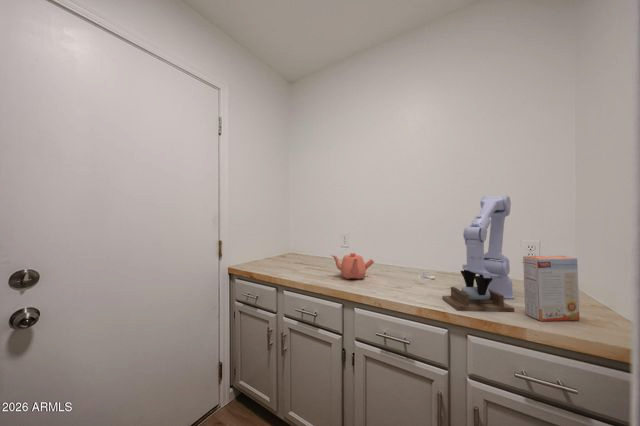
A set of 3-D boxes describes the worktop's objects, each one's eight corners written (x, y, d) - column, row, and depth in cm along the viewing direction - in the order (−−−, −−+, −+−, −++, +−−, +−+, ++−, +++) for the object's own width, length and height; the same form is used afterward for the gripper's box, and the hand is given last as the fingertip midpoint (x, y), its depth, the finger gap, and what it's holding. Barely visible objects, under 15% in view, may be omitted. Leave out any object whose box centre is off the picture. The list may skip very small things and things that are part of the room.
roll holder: (491, 300, 96) (491, 286, 96) (514, 312, 84) (514, 296, 84) (442, 299, 97) (442, 286, 97) (457, 310, 85) (457, 295, 85)
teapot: (356, 283, 120) (356, 257, 120) (330, 277, 133) (330, 253, 133) (375, 277, 132) (375, 253, 133) (350, 272, 145) (350, 250, 146)
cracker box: (561, 313, 82) (559, 255, 83) (580, 321, 76) (579, 258, 77) (523, 314, 82) (522, 255, 82) (540, 321, 76) (538, 258, 76)
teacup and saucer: (437, 280, 128) (437, 272, 128) (426, 281, 125) (426, 274, 125) (425, 276, 136) (425, 269, 136) (414, 277, 133) (414, 270, 133)
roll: (482, 297, 93) (482, 285, 93) (490, 302, 88) (490, 289, 88) (460, 297, 93) (460, 285, 93) (468, 302, 88) (468, 289, 88)
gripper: (455, 254, 98) (455, 286, 98) (475, 260, 84) (476, 298, 83) (472, 254, 98) (472, 286, 97) (496, 260, 83) (496, 298, 83)
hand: (475, 291), depth 90 cm, fingers open, 7 cm apart
